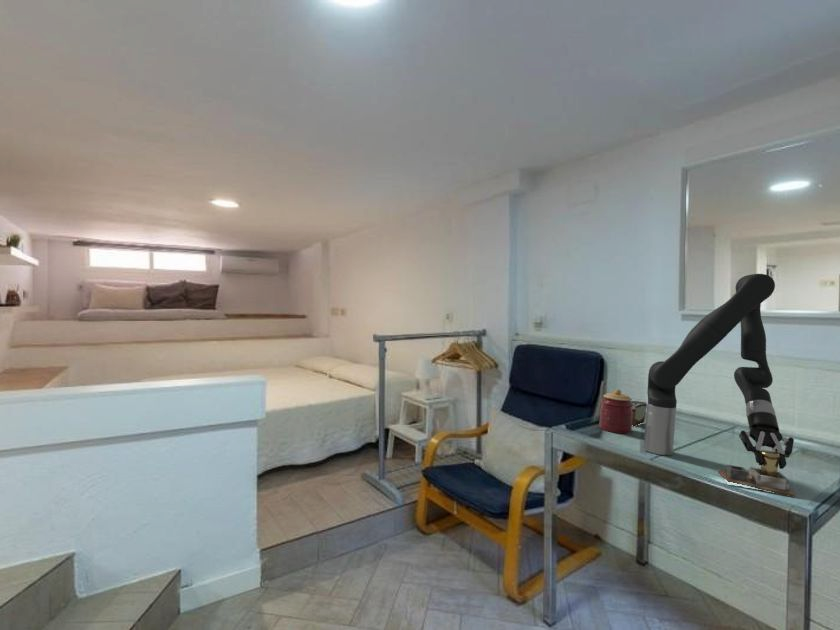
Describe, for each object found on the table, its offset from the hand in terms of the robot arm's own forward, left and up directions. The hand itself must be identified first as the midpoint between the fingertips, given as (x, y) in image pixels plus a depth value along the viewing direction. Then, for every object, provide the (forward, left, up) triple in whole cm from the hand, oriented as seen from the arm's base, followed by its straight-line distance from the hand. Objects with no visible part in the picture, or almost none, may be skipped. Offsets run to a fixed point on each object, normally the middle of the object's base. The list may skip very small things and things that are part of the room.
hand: (771, 465), depth 130 cm
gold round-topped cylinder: (0, +2, -5) cm, 5 cm away
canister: (-42, +45, -7) cm, 62 cm away
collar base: (-4, +2, -7) cm, 8 cm away
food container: (-34, +62, -7) cm, 71 cm away
